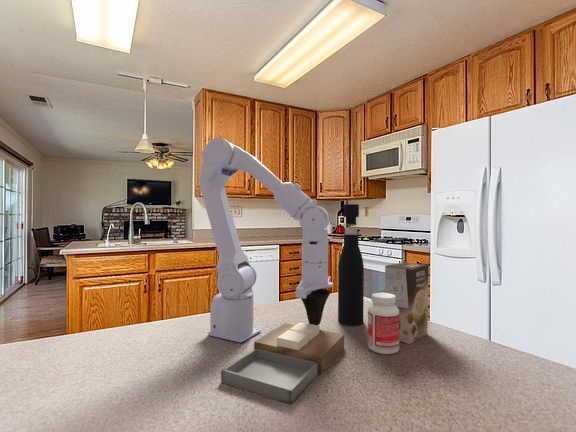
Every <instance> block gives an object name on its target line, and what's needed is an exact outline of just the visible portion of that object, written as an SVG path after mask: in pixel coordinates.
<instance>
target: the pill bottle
mask: <svg viewBox="0 0 576 432" xmlns="http://www.w3.org/2000/svg"><path fill="white" fill-rule="evenodd" d="M371 302H372V303H371V304H369V306H368V308H367V345H368V348H369V349H370V350H371V351H373V352H374V353H377V354H381V355H392V354H393V355H394V354H395V353H397V352H398V351H399V350H400V341H399V309H398V308H397V307H396V306H395V305H394V304H395V302H396V296H395V295H393V294H389V293H385V292H374V293H372V294H371Z"/></svg>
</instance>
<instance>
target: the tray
mask: <svg viewBox="0 0 576 432" xmlns="http://www.w3.org/2000/svg"><path fill="white" fill-rule="evenodd" d="M220 374H221V375H220V377H221V378H220V379H221V380H220V382H221V383H223V384H225V385H228V386H232V387H235V388H238V389H240V390H244V391H248V392H250V393H251V392H252V393H255V394H258V395H259V396H264V397H267V398H270V399H274V400H276V401H279V402H283V403H286V404H289V405H292V404H293V403H295V401H296V400H297V399H298V397H299V396H300V395H301V394H302V393H303V392H304V391H305V390H306V389H307V388H308V387H309V385H310V384H311V383H312V382H313V381H314V380H315V378H317V376H318V375H319V374H318V363H316V362H312V361H308V360H304V359H300V358H295V357H291V356H287V355H283V354H279V353H274V352H270V351H266V350H262V349H258V348H255V349H254V348H253V349H252V350H250V351H249V352H247V353H245V354H244V355H242V356H240V357H239V358H237V359H236V360H235V361H232V362H231V363H230V364H228V365H227V366H225V367H224V368H222V369H221V371H220Z"/></svg>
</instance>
